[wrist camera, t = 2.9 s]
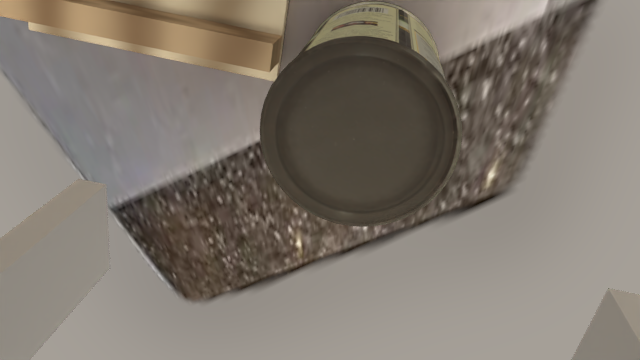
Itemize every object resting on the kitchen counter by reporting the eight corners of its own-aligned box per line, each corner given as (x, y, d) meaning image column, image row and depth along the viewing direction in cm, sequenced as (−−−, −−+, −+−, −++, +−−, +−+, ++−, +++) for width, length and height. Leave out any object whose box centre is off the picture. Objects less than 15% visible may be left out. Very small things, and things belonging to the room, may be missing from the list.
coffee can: (351, 157, 42) (330, 255, 29) (278, 51, 39) (219, 109, 26) (466, 93, 38) (499, 174, 25) (396, -30, 35) (394, -8, 22)
